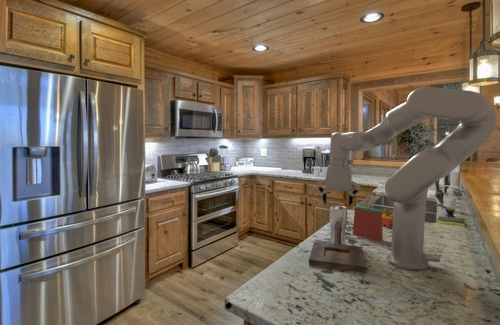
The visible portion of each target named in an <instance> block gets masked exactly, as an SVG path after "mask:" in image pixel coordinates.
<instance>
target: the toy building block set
mask: <svg viewBox="0 0 500 325" xmlns="http://www.w3.org/2000/svg"><path fill="white" fill-rule="evenodd" d="M354 207H355V208H354V213H353V214H354V215H353V224H352V225H353V227H352V235H354V236H360V237H364V238H369V239H372V240H376V241H379V242H380V241H383V238H384V236H383V235H384V234H383V227H384V226H386V228H389V227H391V226H393V225H392V224H393V209H387V208H384V209H376V208H371V207H370V206H369V205H367V206H365V207H364V206H360V205H356V206H354ZM390 225H391V226H390Z"/></svg>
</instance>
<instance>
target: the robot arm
mask: <svg viewBox="0 0 500 325" xmlns="http://www.w3.org/2000/svg"><path fill="white" fill-rule="evenodd" d="M430 118H435V119H441V120H447V121H453V122H459V123H458V125H457V127H456V128H455V129H454V130H452V131H451V132H449V133H448V134H447V135H446V136H445V137H444V138H443V139H442V140H441V141H439V142H438V143H437V144H436V145H435V146H433V147H432V148H430V149H424V150H421V151H419V152H417V153H416V154H415V155H413V156H412V157H411V158H410V159H408V160H407V161H406V162H405V163H404V164H403V165H402V166H400V168H398V169H397V170H396V171H395V172H394V173H393V174H392V175H390V177H389V178H388V179H387V180H386V182H385V186H384V190H385V194H386V197H387V198H389V200H391V201H392V202H393V209H392V210H393V212H392V214H393V225H391V226H392V229H391V230H392V231H391V234H392V235H391V251H390V252H389V253H387V254H386V256H385V257H386V258H385V259H386V261H387V262H388V263H390V264H391V265H393V266H395V267H399V268H400V269H401V268H402V269H406V270H409V271H410V270H412V271H423V270H427V269H428V267H429V262H435V263H441V258H440V256H439V255H434V254H433V253H426V252H425V250H424V241H425V223H426V222H425V220H426V207H427V199H428V195H429V194H428V193H429V192H428V191H429V188H431V187H432V186H433V185H434V184H435V183H437V182H438V181H440V180H441V179H444V178H446V177H448V175H450V174H451V173H452V172H453V171H454V170H455V169H456V168H457V167H458V166H460V165H461V164H462V163H464V162H465V161H466V160H467V159H469V157H471V156H472V155H473V154H474V153H475V152H477V151H478V150H479V149H480V148H481V147H482V146H484V145H485V144H486V143H487V141H489V139H490V138H491V137H492V135H493V134H494V131H495V128H496V125H497V114H496V112H495V109H494V107H493V105H492V103H491V101H490V100H489V99H488V98H487V97H485V96H484V95H483V94H481V93H480V92H477V91H473V90H465V89H456V88H443V87H442V88H441V87H435V86H434V87H433V86H420V87H417V88H416V89H413V90H412V91H411V92H410V93H409V94H408V96H407V97H406V101H405V102H402V103H401V104H399V105H397V106H396V107H394V108H392V109H390V110H389V111H386V113H385V115H384V118H383V119H382V121H381V122H380V123H379V124H377V125H376V126H374V127H372V128H371V129H369V130H367V131H352V132H332V133H331V135H330V143H329V144H330V146H329V147H330V148H329V149H330V150H329V165H327V168H326V174H325V178H324V179H322V180H320V181H317V182H316V186H317V188H318V190H319V191H320V192H321V194H322V202H323V203H324V205H326V204H327V196H328V195H327V192H328V191H335V192H336V191H337V192H347V193H348V194H349V195H348V206H349V207H351V206H352V205H351V204H353V203H354V202H353V201H354V196H355V195H356V194H358V193H359V191H360V189H361V188H362V186H361V185H360V184H359V183H358V182H355V181H353V180H352V167H351V165H353V163H354V160H352V159H350V152H367V151H368V152H369V151H371V150H373V149H375V148H378V147H380V146H381V145H384V144H385V143H387V142H389V141H391V140H392V139H393V138H395V137H396V136H398V135H399V134H401V133H403V132H405V131H407V130H408V129H410V128H413V127H415V126H416V125H418V124H421V123H422V122H424V121H426V120H428V119H430ZM322 184H325V185H324V186H325V188H323V187H322ZM352 186H354V187H355V189H354V190H352Z"/></svg>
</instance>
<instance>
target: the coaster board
mask: <svg viewBox="0 0 500 325" xmlns="http://www.w3.org/2000/svg"><path fill="white" fill-rule="evenodd" d="M312 243H313V244H312V246H311V247H312V248H311V250H310V254H309V258H308V266H312V267H313V266H314V267H319V268H321V267H322V268H328V269H335V270H342V271H349V272H357V273H362V274H363V273H364V274H367V264H366V260H365V255H364V248H363V246H358V245H357V246H356V245H349V244H345V245H341V244H332V243H330V242H321V241H313V242H312Z"/></svg>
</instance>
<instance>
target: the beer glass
mask: <svg viewBox="0 0 500 325" xmlns="http://www.w3.org/2000/svg"><path fill="white" fill-rule="evenodd" d="M347 223H348V207H346V206H342V205H331V206H330V209H329V227H330V240H329V243H332V244H341V245H346V239H345V238H346V237H345V236H346V229H347Z"/></svg>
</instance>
